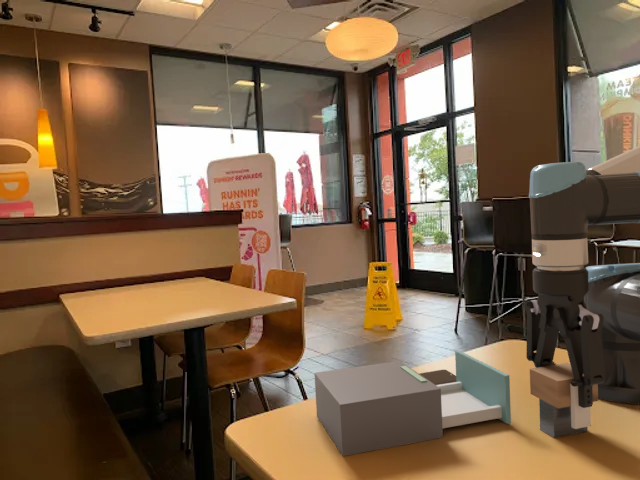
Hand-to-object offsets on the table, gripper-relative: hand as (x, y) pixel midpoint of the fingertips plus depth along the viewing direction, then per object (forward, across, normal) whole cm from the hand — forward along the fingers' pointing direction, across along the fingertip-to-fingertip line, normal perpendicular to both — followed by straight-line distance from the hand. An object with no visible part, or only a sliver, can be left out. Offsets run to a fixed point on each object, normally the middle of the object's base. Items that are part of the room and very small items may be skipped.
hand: (564, 417), depth 74 cm
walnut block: (-3, 0, 0) cm, 3 cm away
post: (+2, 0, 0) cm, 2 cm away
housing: (+2, -12, -27) cm, 30 cm away
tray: (+2, -12, -14) cm, 19 cm away
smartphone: (+3, -27, -11) cm, 29 cm away
